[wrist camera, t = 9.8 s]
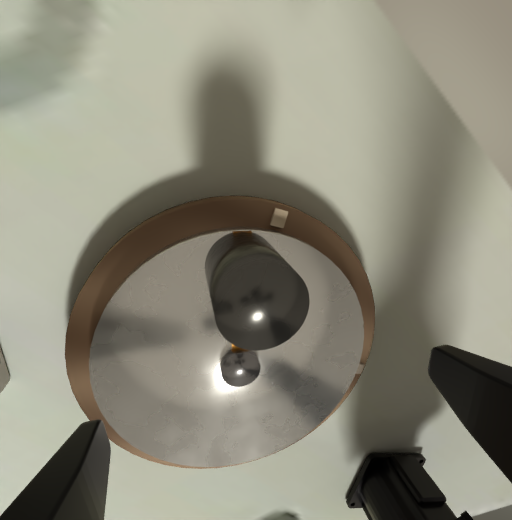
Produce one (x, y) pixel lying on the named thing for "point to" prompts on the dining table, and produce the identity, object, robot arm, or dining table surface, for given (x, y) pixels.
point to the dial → (226, 347)
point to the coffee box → (3, 373)
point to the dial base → (171, 230)
